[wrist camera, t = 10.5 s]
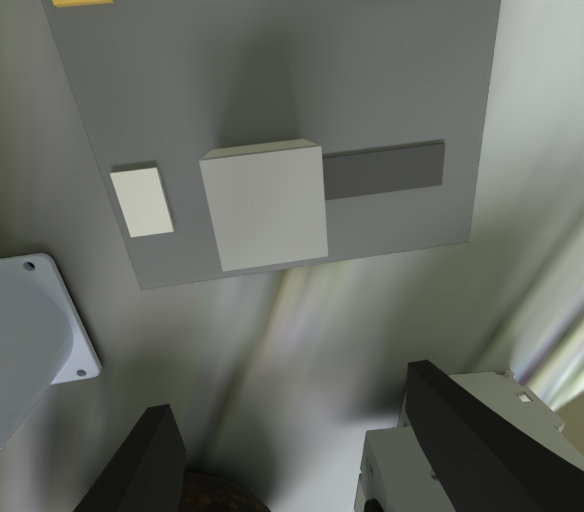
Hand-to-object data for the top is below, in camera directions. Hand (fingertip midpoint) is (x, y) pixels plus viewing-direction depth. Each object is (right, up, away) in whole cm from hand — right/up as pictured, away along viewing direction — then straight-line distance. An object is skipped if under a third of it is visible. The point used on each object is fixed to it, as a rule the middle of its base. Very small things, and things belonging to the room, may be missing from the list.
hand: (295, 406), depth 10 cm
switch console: (0, +13, +5) cm, 14 cm away
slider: (-1, +8, +5) cm, 9 cm away
